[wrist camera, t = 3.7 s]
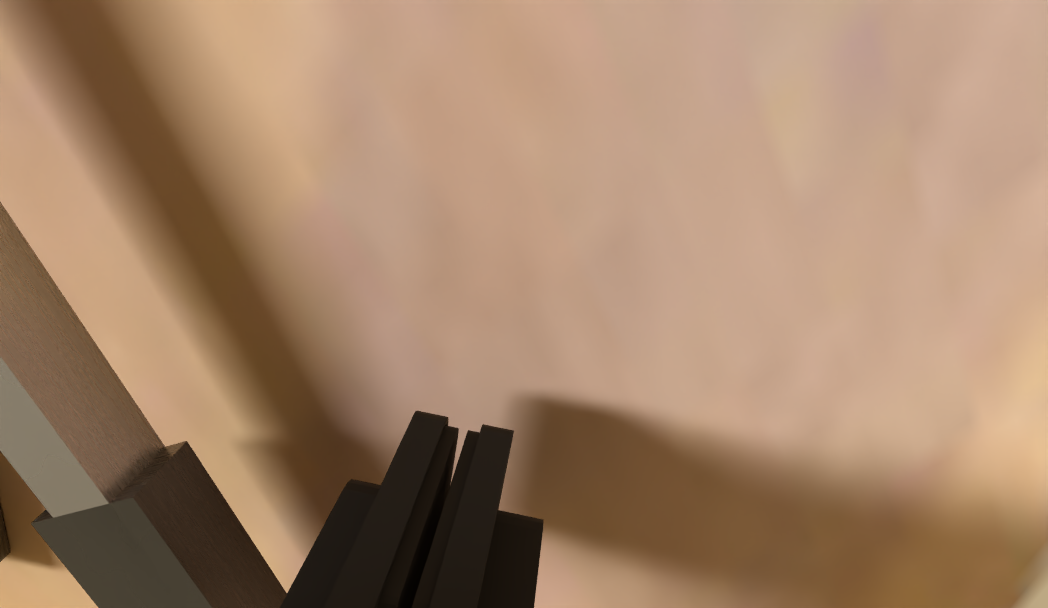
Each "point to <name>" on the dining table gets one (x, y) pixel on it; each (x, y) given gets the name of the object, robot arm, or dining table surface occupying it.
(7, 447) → the tongs hinged arm
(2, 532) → the tongs fixed arm
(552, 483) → the dining table surface
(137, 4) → the dining table surface
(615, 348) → the dining table surface
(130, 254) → the dining table surface
